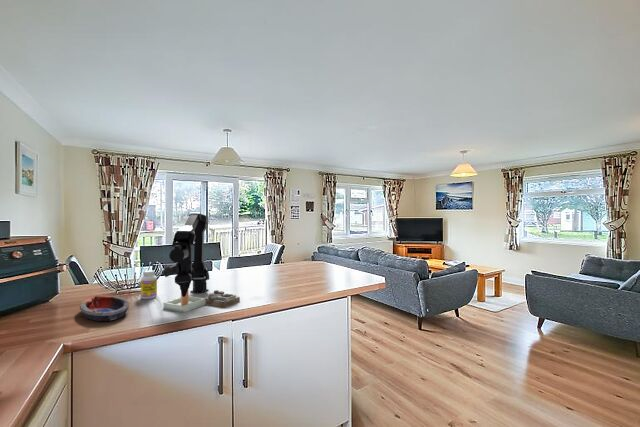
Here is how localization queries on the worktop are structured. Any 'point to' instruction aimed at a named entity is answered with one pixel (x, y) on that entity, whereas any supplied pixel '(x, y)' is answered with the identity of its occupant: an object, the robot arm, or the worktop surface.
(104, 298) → the dish
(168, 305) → the tray
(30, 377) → the worktop surface
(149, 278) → the supplement bottle
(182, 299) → the pin
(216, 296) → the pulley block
